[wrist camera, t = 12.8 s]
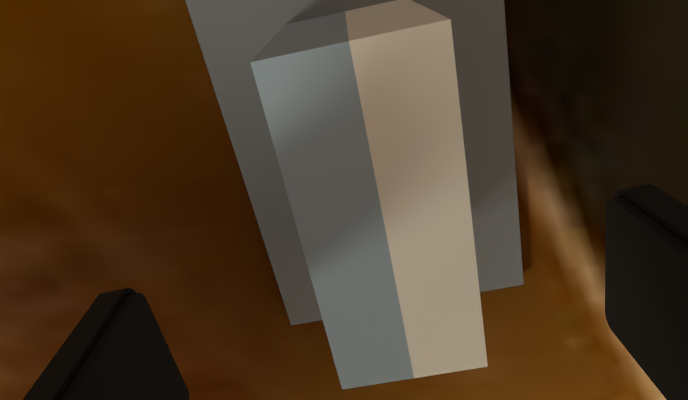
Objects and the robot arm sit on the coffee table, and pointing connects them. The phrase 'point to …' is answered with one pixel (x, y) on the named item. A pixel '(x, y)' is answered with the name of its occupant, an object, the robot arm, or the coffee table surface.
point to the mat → (476, 115)
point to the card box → (378, 187)
